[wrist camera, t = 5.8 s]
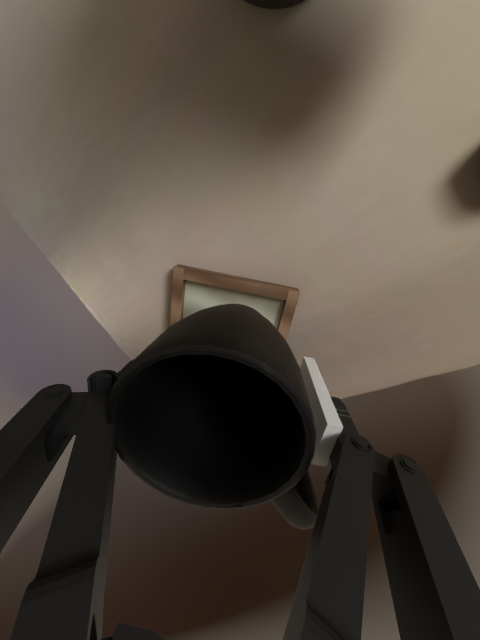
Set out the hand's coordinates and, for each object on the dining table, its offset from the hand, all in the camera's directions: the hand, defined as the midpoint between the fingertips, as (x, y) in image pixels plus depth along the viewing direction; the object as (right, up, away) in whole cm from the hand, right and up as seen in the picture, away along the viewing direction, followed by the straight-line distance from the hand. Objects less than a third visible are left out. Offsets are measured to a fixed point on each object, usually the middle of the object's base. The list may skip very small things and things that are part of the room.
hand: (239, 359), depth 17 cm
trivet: (-2, +1, +20) cm, 20 cm away
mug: (+1, 0, +1) cm, 1 cm away
